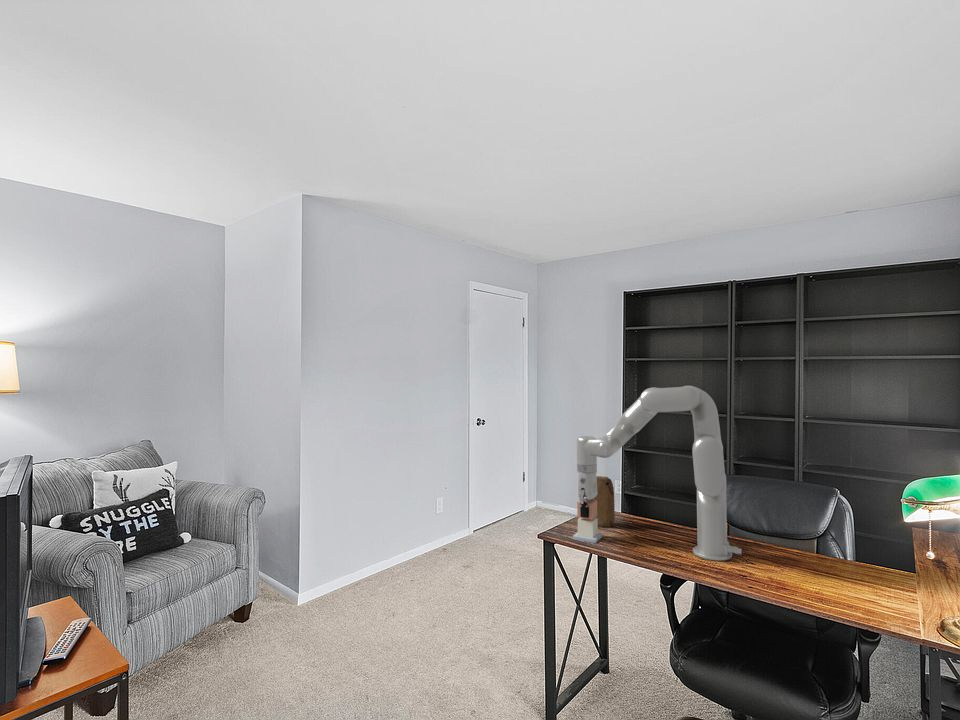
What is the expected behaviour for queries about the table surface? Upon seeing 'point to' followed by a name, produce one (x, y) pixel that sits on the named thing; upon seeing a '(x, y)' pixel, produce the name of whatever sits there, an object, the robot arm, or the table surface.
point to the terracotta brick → (592, 509)
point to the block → (605, 502)
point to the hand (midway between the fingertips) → (587, 514)
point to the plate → (587, 538)
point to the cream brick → (587, 527)
